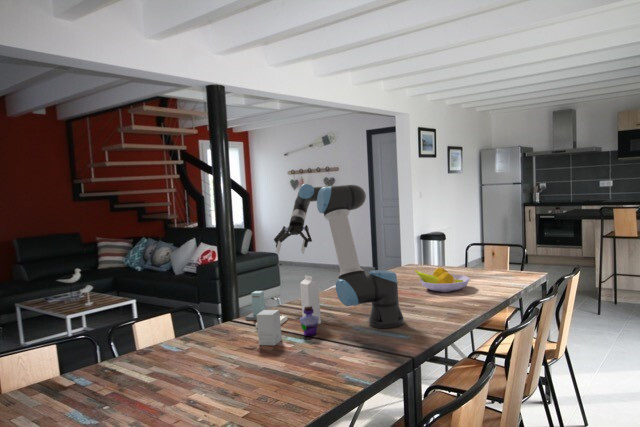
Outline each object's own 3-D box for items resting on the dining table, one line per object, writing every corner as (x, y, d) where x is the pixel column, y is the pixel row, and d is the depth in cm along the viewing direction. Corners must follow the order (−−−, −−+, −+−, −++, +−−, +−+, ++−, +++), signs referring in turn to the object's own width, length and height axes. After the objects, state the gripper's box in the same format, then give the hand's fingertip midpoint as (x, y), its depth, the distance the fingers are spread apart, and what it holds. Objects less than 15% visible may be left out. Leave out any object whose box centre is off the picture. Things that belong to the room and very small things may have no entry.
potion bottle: (296, 337, 199) (294, 308, 198) (304, 330, 207) (302, 303, 206) (316, 338, 196) (314, 309, 195) (323, 331, 204) (321, 303, 203)
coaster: (254, 314, 241) (254, 311, 241) (272, 314, 238) (272, 311, 238) (245, 319, 231) (245, 316, 231) (264, 320, 228) (264, 317, 228)
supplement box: (282, 339, 197) (280, 309, 196) (275, 346, 190) (272, 314, 189) (266, 339, 199) (263, 309, 199) (258, 345, 192) (255, 314, 192)
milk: (310, 326, 212) (306, 277, 211) (302, 324, 217) (298, 276, 216) (321, 323, 216) (317, 275, 215) (313, 321, 221) (309, 273, 219)
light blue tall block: (257, 312, 237) (255, 290, 237) (265, 312, 236) (263, 290, 235) (253, 315, 233) (251, 293, 232) (261, 315, 232) (259, 293, 231)
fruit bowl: (475, 285, 269) (474, 265, 268) (461, 296, 246) (459, 274, 245) (427, 282, 284) (426, 263, 283) (409, 293, 261) (408, 272, 260)
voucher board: (268, 319, 230) (267, 314, 230) (287, 319, 227) (287, 314, 227) (255, 328, 216) (255, 323, 216) (276, 328, 213) (275, 323, 213)
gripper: (321, 223, 253) (315, 256, 240) (278, 225, 260) (269, 257, 247) (318, 214, 248) (311, 247, 234) (273, 216, 255) (264, 248, 242)
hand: (289, 252), depth 241 cm, fingers open, 13 cm apart
